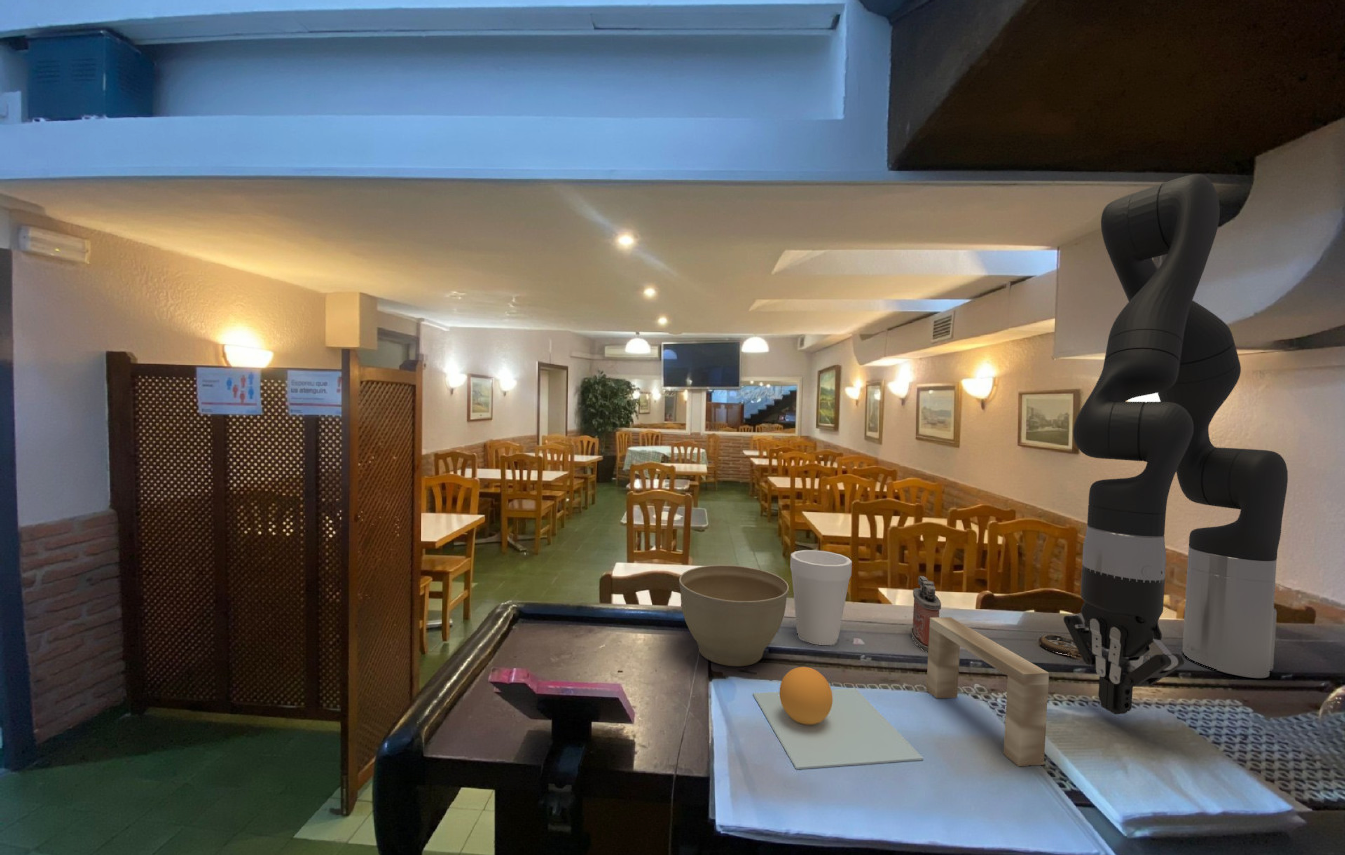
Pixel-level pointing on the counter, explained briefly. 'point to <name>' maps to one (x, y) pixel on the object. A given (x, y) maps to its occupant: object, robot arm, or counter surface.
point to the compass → (1060, 645)
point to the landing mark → (837, 733)
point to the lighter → (924, 611)
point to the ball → (806, 695)
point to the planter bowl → (732, 611)
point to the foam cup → (819, 593)
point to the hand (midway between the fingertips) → (1113, 710)
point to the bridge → (1022, 685)
